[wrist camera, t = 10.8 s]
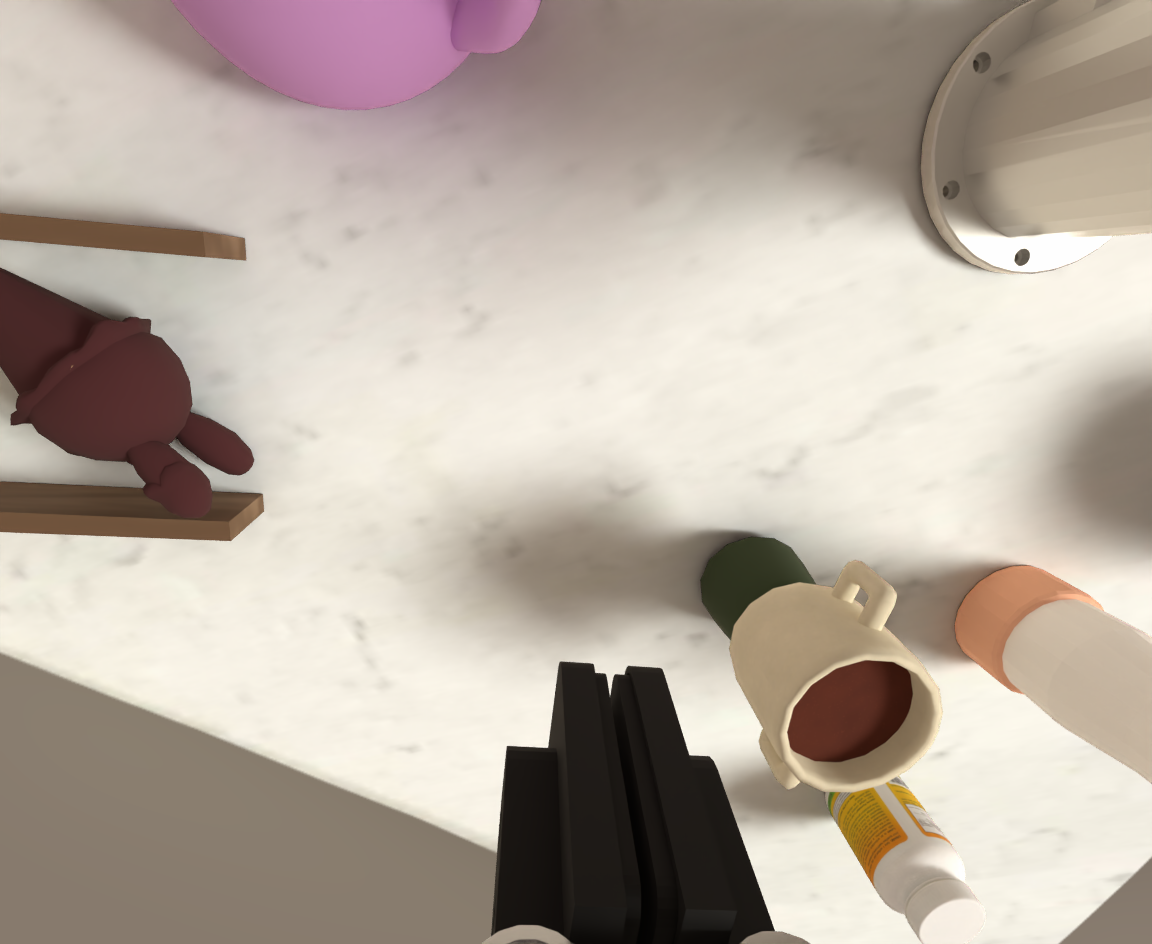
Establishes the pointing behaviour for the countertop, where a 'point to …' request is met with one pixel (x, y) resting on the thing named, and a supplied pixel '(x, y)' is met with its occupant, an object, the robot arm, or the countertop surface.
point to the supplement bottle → (909, 861)
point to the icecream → (110, 394)
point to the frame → (119, 505)
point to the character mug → (821, 668)
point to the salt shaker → (1064, 658)
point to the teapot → (356, 43)
